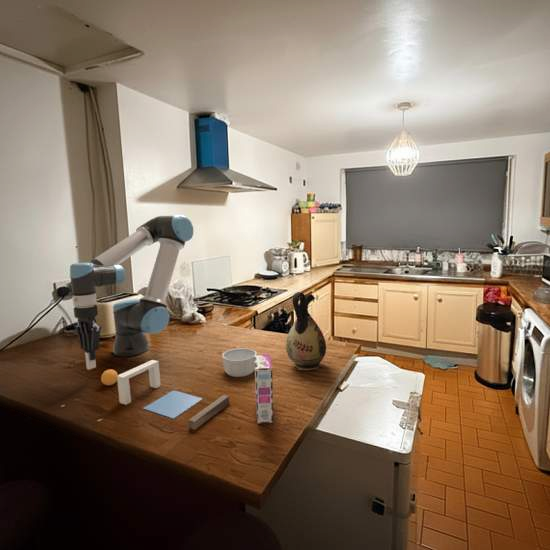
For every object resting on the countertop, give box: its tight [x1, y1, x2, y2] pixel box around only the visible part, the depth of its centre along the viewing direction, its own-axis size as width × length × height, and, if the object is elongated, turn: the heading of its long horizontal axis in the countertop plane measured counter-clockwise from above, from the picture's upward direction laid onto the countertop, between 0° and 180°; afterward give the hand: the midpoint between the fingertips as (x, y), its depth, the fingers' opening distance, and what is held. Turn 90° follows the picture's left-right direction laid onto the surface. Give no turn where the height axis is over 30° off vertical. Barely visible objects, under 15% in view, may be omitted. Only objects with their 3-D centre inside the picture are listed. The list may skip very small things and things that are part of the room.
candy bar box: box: [254, 354, 274, 425], centre depth 105 cm, size 11×5×16 cm, turn 5°
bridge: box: [116, 359, 162, 406], centre depth 120 cm, size 3×14×9 cm, turn 151°
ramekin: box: [221, 347, 258, 378], centre depth 136 cm, size 13×13×7 cm
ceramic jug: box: [285, 291, 327, 371], centre depth 136 cm, size 17×15×30 cm
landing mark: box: [142, 389, 204, 420], centre depth 113 cm, size 13×13×1 cm
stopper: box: [188, 394, 230, 431], centre depth 106 cm, size 2×16×2 cm, turn 151°
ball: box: [100, 368, 119, 386], centre depth 128 cm, size 6×6×6 cm
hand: (91, 367), depth 132 cm, fingers closed
